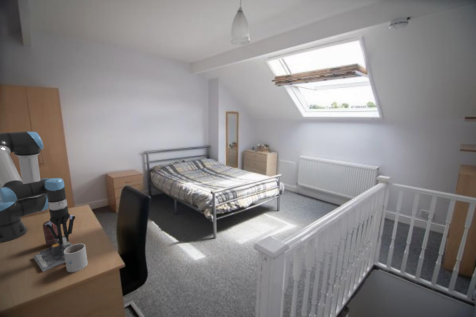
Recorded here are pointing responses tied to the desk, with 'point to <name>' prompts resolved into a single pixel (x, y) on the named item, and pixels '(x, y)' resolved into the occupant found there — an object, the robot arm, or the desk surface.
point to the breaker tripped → (56, 249)
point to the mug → (75, 257)
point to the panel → (49, 259)
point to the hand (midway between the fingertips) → (65, 247)
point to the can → (49, 234)
